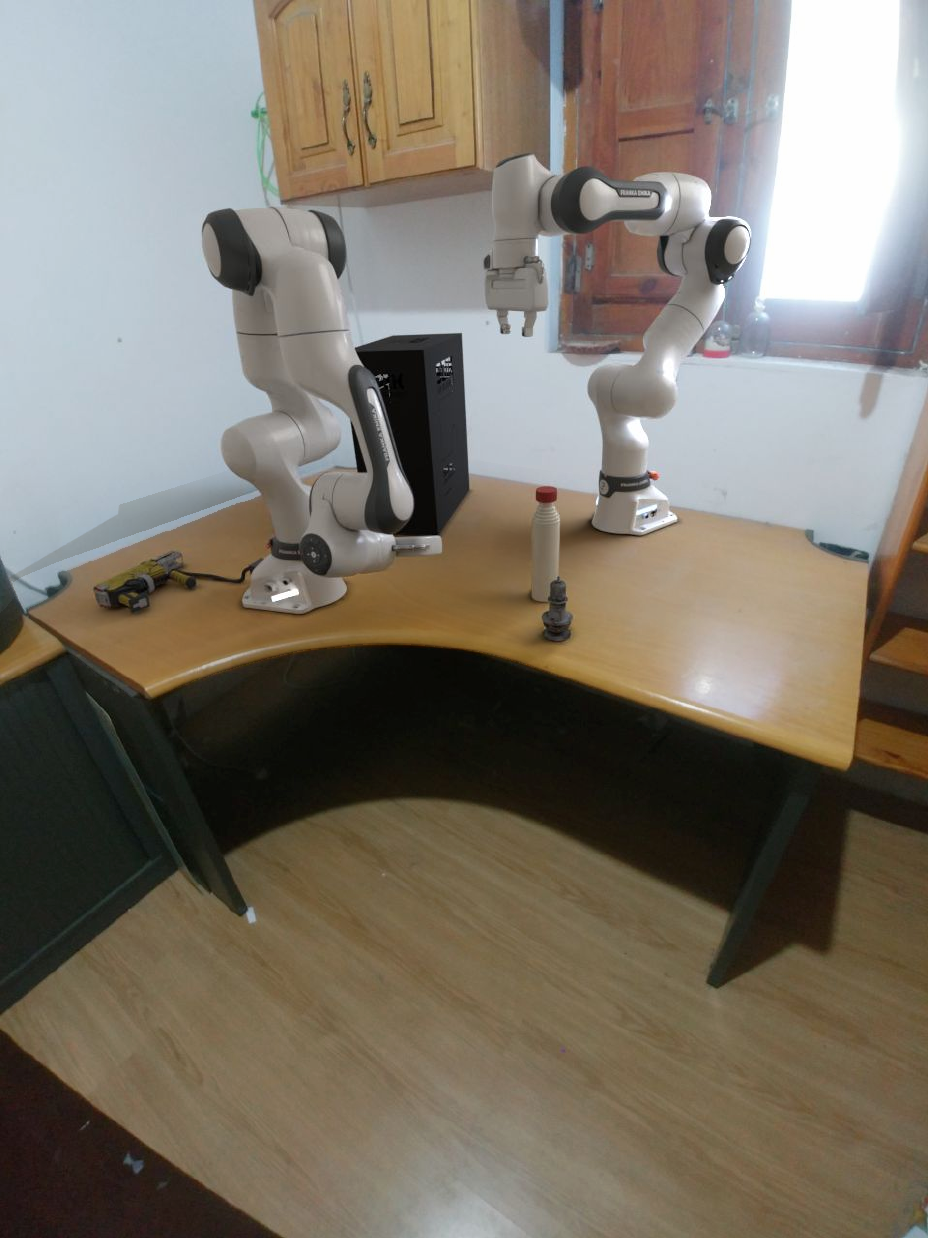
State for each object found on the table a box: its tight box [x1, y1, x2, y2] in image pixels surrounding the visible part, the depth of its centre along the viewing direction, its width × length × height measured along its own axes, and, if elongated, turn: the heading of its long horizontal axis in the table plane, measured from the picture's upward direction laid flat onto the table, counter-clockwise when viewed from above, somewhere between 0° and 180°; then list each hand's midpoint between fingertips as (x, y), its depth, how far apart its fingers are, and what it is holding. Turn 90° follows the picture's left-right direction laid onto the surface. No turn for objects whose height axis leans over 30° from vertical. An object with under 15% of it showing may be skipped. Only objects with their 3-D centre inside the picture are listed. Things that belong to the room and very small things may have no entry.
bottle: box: [530, 502, 561, 603], centre depth 121 cm, size 6×6×23 cm
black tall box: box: [349, 332, 470, 536], centre depth 165 cm, size 38×20×45 cm, turn 167°
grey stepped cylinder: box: [540, 576, 574, 642], centre depth 110 cm, size 6×6×12 cm
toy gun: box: [92, 549, 197, 614], centre depth 138 cm, size 5×24×15 cm
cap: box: [535, 485, 558, 503], centre depth 116 cm, size 4×4×2 cm
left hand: (413, 544), depth 124 cm, fingers open, 8 cm apart
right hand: (516, 335), depth 125 cm, fingers open, 8 cm apart
